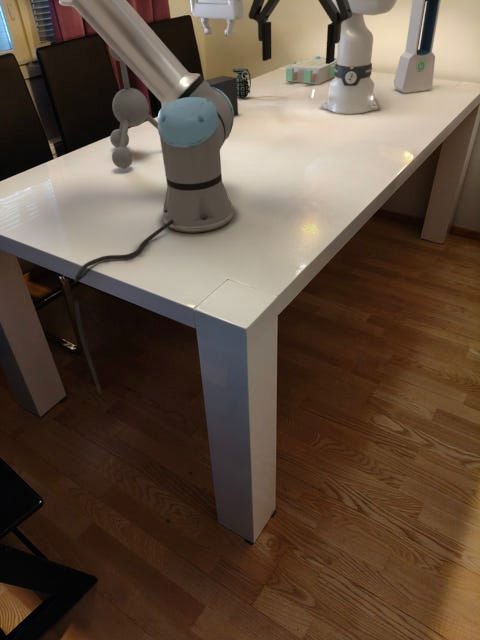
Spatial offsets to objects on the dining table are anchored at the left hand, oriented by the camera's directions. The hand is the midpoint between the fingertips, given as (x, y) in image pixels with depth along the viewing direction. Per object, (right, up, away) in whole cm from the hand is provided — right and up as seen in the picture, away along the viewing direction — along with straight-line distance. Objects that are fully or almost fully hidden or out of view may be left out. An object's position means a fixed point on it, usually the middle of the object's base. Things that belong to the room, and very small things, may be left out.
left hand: (297, 61), depth 97 cm
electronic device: (+54, +36, +87) cm, 109 cm away
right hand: (-18, +38, +57) cm, 71 cm away
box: (-23, +15, +67) cm, 73 cm away
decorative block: (+20, +51, +110) cm, 123 cm away
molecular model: (-39, -4, +44) cm, 59 cm away
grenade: (-11, +33, +90) cm, 96 cm away
